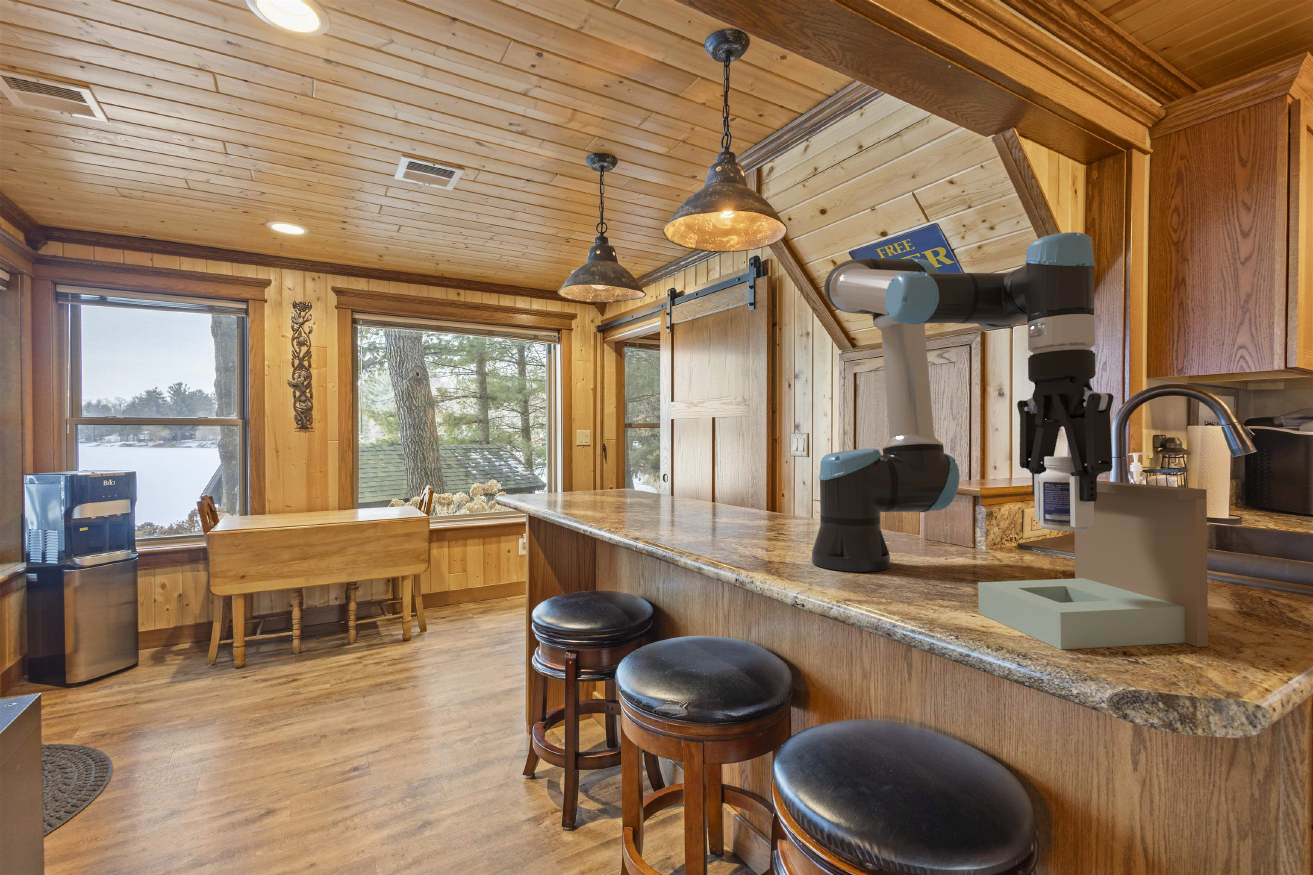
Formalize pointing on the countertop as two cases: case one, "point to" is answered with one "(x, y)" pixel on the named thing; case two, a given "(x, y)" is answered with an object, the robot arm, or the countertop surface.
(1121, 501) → the socket stand
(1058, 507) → the pill bottle
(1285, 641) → the countertop surface
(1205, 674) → the countertop surface
